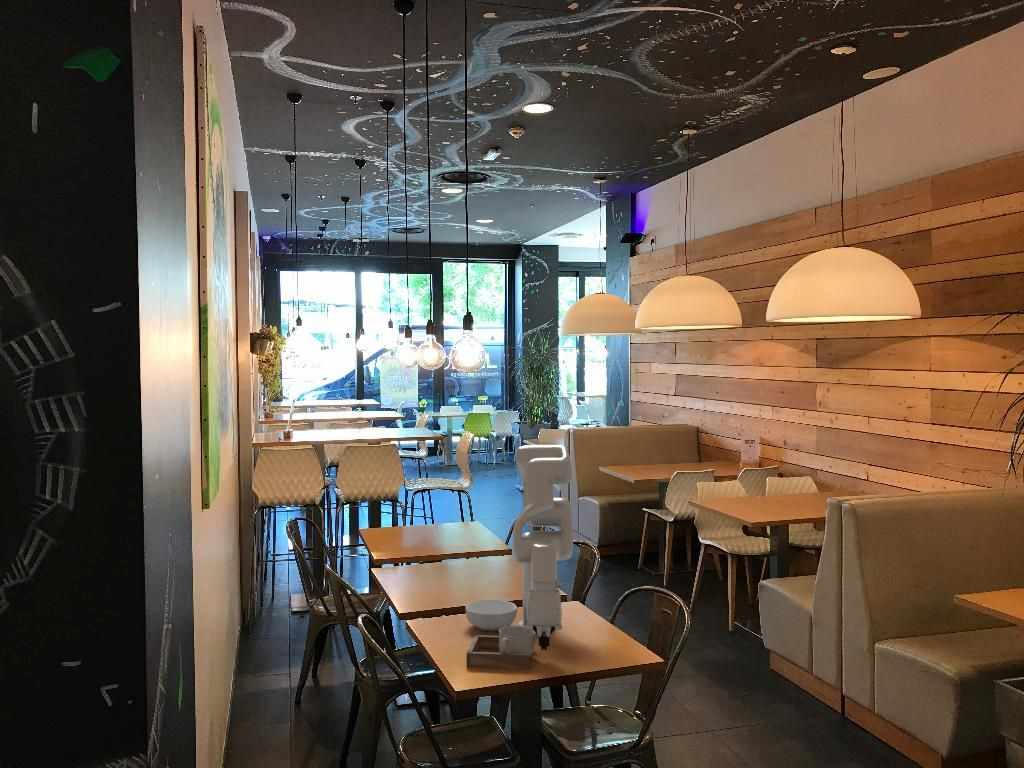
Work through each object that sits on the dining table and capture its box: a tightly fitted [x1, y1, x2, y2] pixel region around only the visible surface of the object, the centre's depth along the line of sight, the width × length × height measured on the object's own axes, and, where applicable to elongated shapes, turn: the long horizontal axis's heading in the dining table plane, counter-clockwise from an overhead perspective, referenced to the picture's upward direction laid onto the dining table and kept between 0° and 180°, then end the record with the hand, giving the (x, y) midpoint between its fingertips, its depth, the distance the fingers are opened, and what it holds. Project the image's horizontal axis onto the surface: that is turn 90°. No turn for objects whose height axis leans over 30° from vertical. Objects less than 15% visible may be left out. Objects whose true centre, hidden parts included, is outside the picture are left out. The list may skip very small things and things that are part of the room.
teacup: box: [498, 625, 537, 657], centre depth 240 cm, size 14×11×8 cm
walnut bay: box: [466, 634, 530, 670], centre depth 241 cm, size 16×18×4 cm
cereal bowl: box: [465, 599, 518, 631], centre depth 271 cm, size 17×17×7 cm
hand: (544, 648), depth 239 cm, fingers closed
